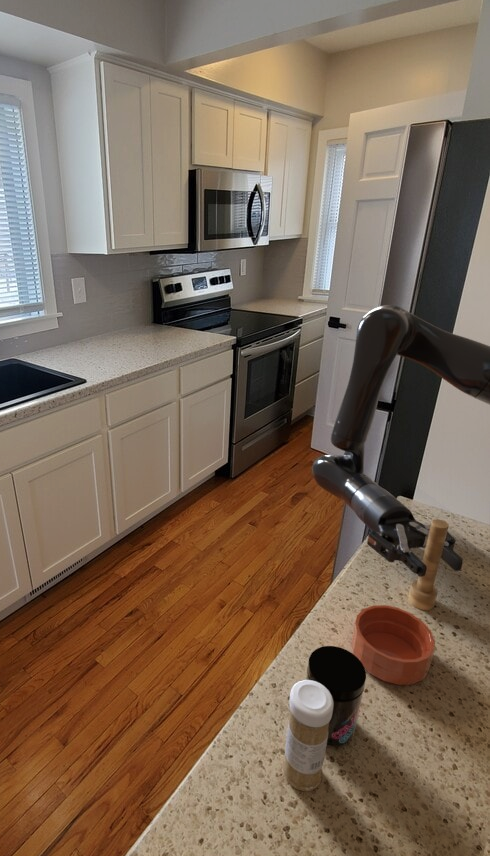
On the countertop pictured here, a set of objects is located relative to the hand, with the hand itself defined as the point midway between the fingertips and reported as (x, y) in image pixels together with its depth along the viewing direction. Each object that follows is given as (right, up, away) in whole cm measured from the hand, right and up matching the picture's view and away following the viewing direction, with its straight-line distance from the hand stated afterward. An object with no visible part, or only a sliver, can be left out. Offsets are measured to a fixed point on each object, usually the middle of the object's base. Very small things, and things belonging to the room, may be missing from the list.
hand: (441, 569), depth 77 cm
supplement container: (-23, -17, -13) cm, 31 cm away
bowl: (-10, -12, -4) cm, 16 cm away
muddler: (0, -7, +6) cm, 9 cm away
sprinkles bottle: (-28, -20, -19) cm, 39 cm away
